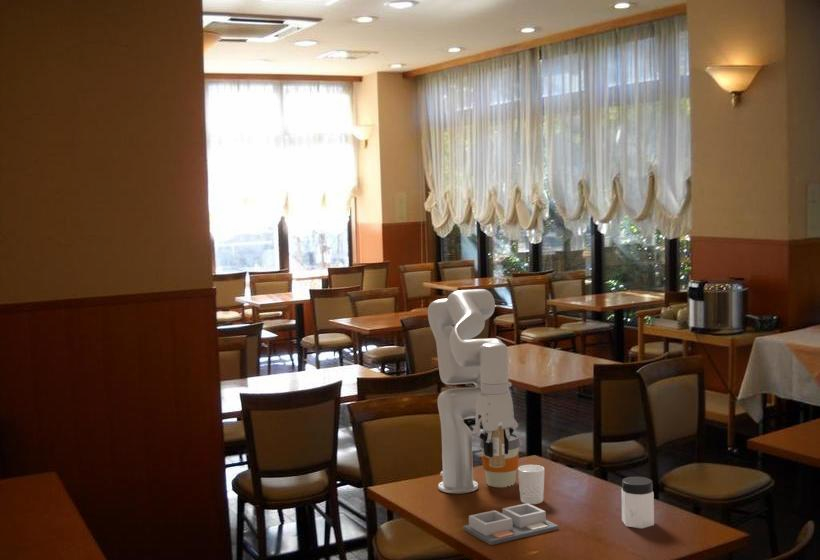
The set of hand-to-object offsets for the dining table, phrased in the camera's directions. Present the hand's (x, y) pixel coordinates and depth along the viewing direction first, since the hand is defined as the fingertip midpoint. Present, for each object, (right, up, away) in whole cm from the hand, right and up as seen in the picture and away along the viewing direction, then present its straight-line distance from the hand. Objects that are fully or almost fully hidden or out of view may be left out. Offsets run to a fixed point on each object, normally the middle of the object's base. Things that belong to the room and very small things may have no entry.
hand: (496, 453), depth 255 cm
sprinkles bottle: (0, -4, 0) cm, 4 cm away
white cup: (+13, -19, +26) cm, 34 cm away
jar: (+39, -20, +3) cm, 44 cm away
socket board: (+4, -21, +2) cm, 21 cm away
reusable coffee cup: (+6, -18, +44) cm, 48 cm away
